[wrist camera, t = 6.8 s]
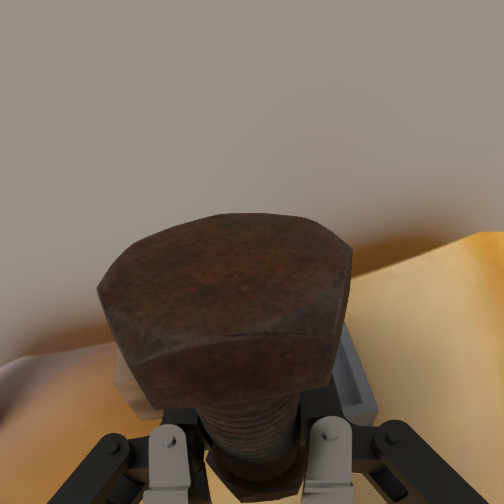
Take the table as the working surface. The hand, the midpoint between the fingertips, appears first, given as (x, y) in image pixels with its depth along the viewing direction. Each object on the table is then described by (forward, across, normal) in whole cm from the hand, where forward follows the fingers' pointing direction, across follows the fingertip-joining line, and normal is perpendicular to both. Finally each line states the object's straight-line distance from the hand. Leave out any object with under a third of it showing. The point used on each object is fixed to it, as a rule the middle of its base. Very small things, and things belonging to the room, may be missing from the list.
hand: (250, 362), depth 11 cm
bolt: (-3, 0, +9) cm, 9 cm away
